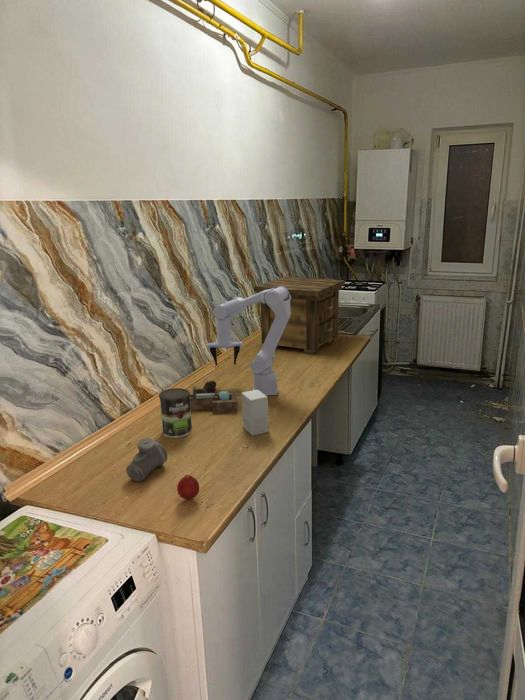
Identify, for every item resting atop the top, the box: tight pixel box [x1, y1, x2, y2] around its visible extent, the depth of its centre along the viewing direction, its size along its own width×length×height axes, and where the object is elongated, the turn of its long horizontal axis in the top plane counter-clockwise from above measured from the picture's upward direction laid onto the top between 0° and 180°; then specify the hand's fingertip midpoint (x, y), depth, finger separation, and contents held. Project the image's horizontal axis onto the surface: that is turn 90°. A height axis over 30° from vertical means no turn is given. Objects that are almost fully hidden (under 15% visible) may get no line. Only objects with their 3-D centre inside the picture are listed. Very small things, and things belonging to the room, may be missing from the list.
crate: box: [253, 275, 346, 354], centre depth 269 cm, size 35×35×33 cm
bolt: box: [196, 380, 217, 394], centre depth 208 cm, size 6×5×15 cm
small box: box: [241, 389, 270, 437], centre depth 175 cm, size 8×6×13 cm
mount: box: [190, 392, 238, 414], centre depth 195 cm, size 18×9×5 cm, turn 92°
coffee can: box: [158, 387, 193, 439], centre depth 175 cm, size 10×10×14 cm
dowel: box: [218, 390, 230, 401], centre depth 195 cm, size 4×4×6 cm
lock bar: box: [192, 385, 216, 400], centre depth 193 cm, size 8×3×4 cm, turn 92°
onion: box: [176, 473, 200, 502], centre depth 136 cm, size 6×6×8 cm
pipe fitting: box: [125, 437, 168, 483], centre depth 150 cm, size 12×8×10 cm
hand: (225, 364), depth 214 cm, fingers open, 7 cm apart
